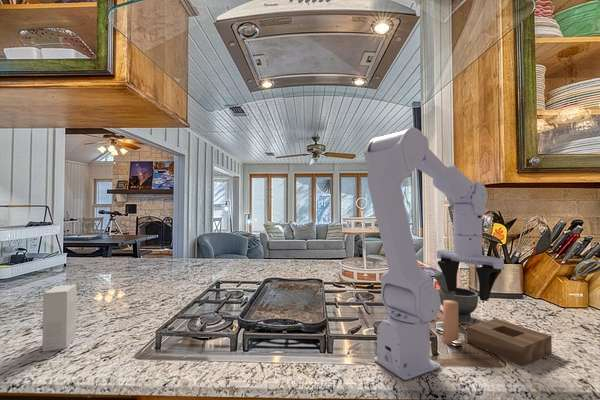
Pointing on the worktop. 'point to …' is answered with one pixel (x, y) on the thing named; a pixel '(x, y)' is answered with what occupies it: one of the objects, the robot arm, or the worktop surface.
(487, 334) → the walnut stand
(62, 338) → the skincare box
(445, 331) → the peg
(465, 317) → the mortar and pestle
